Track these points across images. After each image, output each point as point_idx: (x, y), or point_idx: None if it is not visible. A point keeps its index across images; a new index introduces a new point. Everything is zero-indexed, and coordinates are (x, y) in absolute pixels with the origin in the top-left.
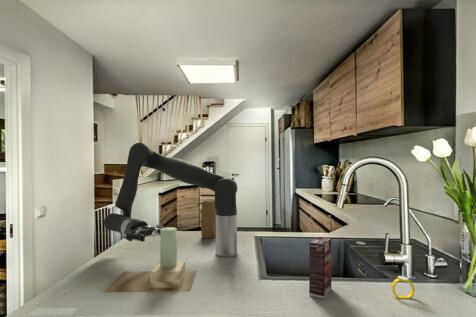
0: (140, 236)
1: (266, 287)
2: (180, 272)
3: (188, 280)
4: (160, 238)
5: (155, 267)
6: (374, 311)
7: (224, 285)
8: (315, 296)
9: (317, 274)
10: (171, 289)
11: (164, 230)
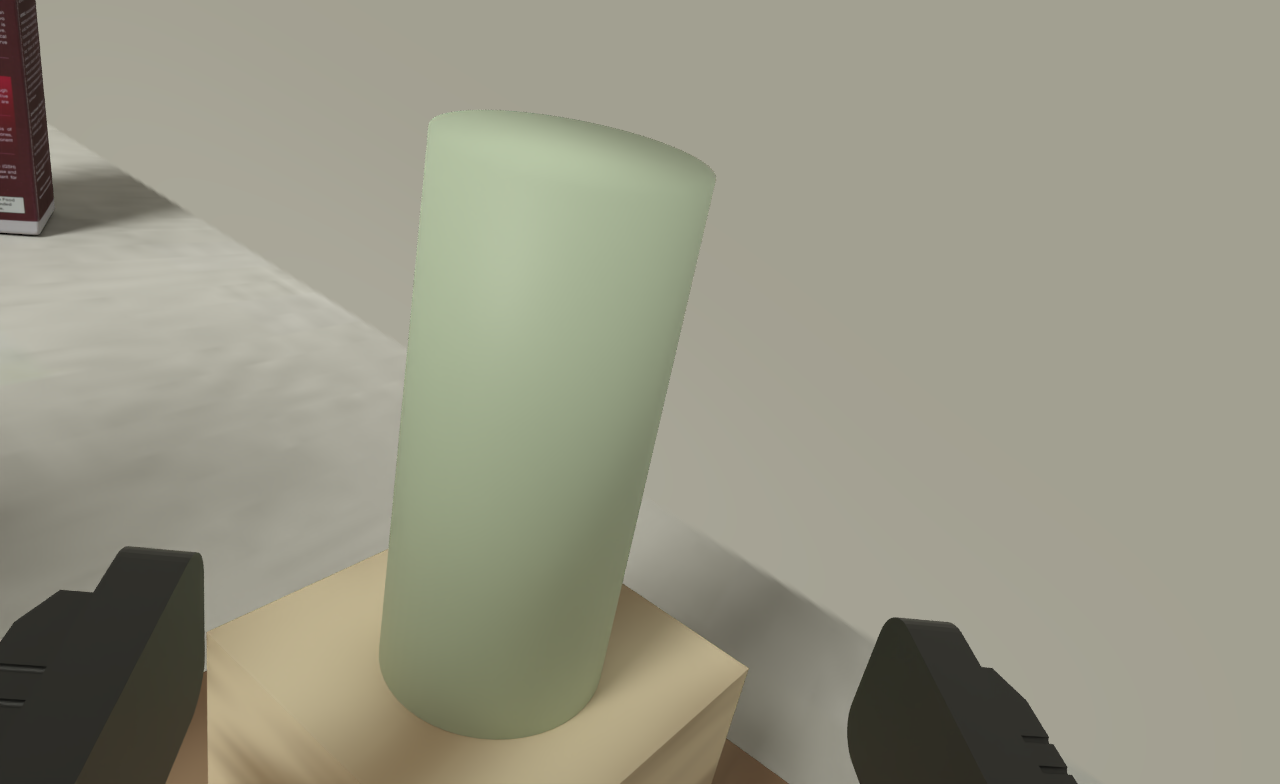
0: (994, 678)
1: (16, 346)
2: None
3: None
4: (680, 325)
5: (650, 725)
6: (82, 150)
7: (129, 501)
8: (47, 220)
9: (39, 102)
10: None
11: (672, 157)
